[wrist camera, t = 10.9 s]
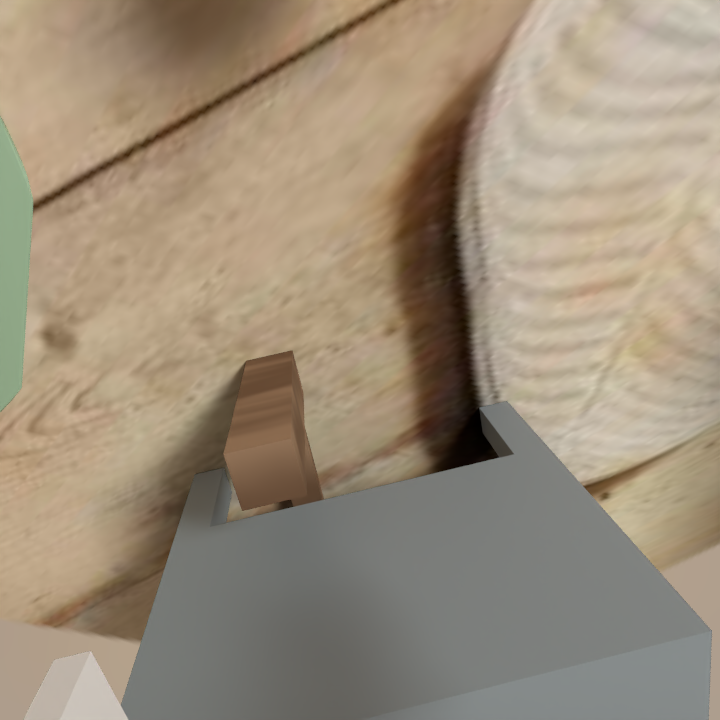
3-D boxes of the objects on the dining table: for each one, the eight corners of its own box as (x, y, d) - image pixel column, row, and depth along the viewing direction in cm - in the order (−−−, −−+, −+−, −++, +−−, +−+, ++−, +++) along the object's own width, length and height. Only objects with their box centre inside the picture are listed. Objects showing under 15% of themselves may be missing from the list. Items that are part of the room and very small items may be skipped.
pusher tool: (223, 366, 35) (189, 462, 24) (315, 345, 35) (324, 430, 24) (291, 584, 41) (290, 741, 30) (369, 565, 42) (396, 714, 30)
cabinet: (507, 401, 38) (711, 630, 19) (521, 529, 42) (704, 823, 23) (194, 474, 37) (94, 787, 19) (239, 597, 41) (193, 959, 22)
